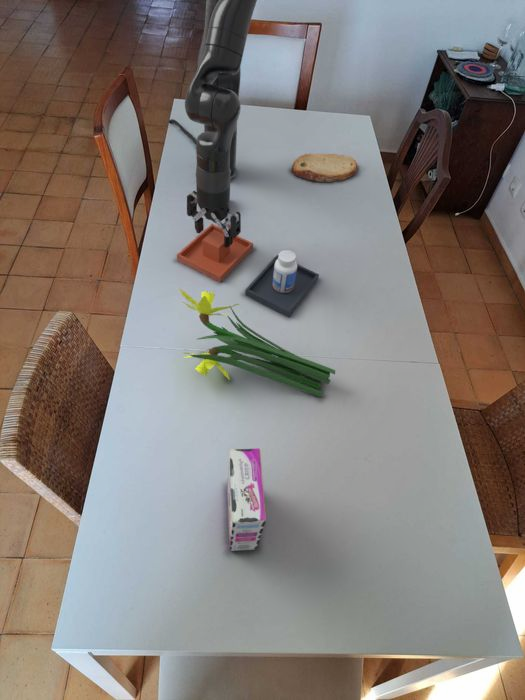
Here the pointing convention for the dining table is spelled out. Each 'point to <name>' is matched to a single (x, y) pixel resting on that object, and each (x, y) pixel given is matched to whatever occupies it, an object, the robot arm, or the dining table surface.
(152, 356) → the dining table surface
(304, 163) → the slice of bread
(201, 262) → the terracotta tray
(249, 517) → the candy bar box
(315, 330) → the dining table surface
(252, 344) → the daffodil flowers
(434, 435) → the dining table surface
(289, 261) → the pill bottle
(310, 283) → the slate tray
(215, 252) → the terracotta block
